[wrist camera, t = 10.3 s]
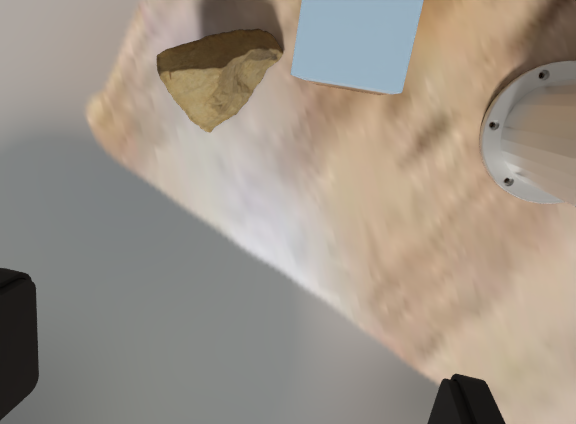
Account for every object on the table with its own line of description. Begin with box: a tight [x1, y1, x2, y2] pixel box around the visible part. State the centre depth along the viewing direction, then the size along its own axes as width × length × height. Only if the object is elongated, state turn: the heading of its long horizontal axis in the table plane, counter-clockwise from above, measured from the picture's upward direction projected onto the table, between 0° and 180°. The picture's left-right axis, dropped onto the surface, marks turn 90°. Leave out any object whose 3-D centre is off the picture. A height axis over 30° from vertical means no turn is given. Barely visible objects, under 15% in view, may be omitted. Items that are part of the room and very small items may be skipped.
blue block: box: [291, 0, 423, 94], centre depth 23 cm, size 6×6×6 cm
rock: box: [157, 29, 283, 132], centre depth 37 cm, size 11×9×10 cm
